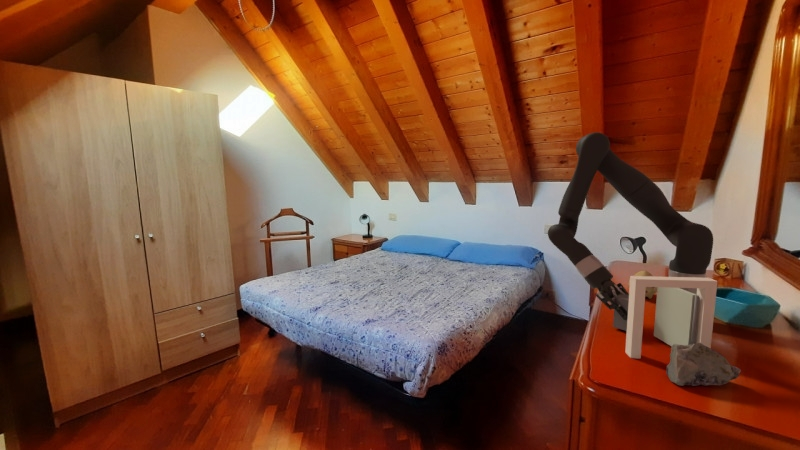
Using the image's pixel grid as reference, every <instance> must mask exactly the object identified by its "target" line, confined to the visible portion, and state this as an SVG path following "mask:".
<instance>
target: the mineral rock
mask: <svg viewBox="0 0 800 450" xmlns="http://www.w3.org/2000/svg"><path fill="white" fill-rule="evenodd" d="M670 347H671V346H670ZM669 357H670V359H669V360H670V361H669V364H667V365H666V369H665V370H666V371H665V372H666V376H667V377H668V379H669V380H670V382H672V383H674V384H676V385H677V386H683V387H684V386H685V385H686V386H693V387H695V386H700V385H702V386H705V387H707V386H723V385H726V384H728V383H729V382H730V381H733V380H736V379H738V378H739V377H740V373H741V371H742V370H741V369H740V368H739V367H737V366H735V365H732V364H731V363H729V360H727V358H726V357H725V356H723V355H722V354H720V352H718V351H717V350H715V349H712V348H711V349H710V348H709V347H707V346H705V345H703V344H701V343H699V342H698V343H696V344H693V345H691V344H690V345H678V344H673V345H672V347H671V348H670V354H669Z"/></svg>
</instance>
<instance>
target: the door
mask: <svg viewBox="0 0 800 450" xmlns="http://www.w3.org/2000/svg"><path fill="white" fill-rule="evenodd" d="M655 302H656V303H655V315H654V328H653V337H655V338H657V339H658V340H660V341H662V342H664V343H665V344H667V345H668V346H670V347H672V345H673V344H678V345H690V344H691V345H693V344H695V335H696V324H697V313H698V303H699V296H697V295H696V294H693V293H691V292H688V291H686V290H683V289H680V288H668V287H657V292H656V301H655Z"/></svg>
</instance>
